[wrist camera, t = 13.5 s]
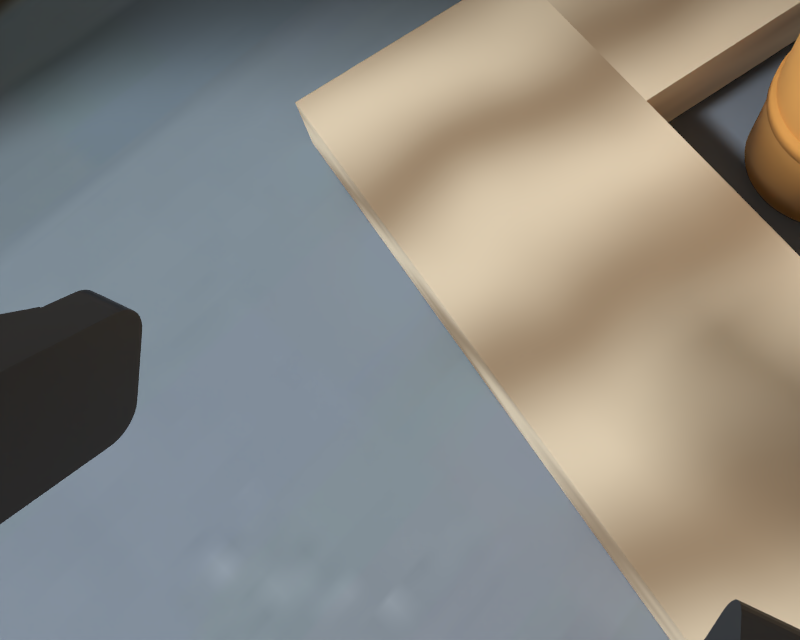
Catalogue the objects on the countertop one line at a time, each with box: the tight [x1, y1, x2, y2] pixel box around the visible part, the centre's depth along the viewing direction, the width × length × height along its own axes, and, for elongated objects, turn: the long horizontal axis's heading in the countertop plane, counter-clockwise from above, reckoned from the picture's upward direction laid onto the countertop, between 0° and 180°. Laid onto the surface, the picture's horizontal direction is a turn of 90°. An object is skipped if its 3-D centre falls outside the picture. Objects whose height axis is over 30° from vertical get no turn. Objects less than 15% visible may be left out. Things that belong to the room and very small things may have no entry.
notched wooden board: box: [295, 0, 800, 640], centre depth 23 cm, size 22×18×3 cm
